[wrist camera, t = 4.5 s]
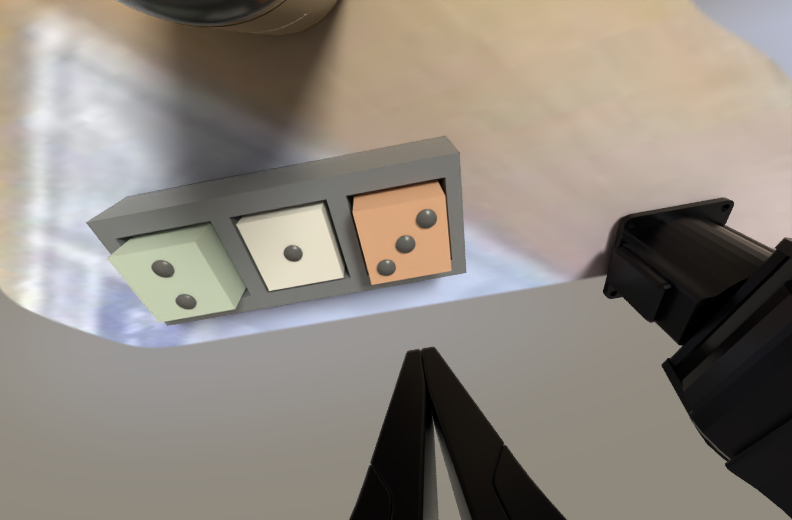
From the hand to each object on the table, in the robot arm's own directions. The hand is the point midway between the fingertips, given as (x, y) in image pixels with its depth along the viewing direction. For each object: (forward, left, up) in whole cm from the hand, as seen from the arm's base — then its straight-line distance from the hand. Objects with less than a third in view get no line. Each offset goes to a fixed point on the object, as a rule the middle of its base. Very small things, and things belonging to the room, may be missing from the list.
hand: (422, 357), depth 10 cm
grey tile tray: (+5, 0, -11) cm, 12 cm away
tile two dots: (+11, 0, -9) cm, 14 cm away
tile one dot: (+5, 0, -10) cm, 11 cm away
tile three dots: (0, 0, -9) cm, 9 cm away
